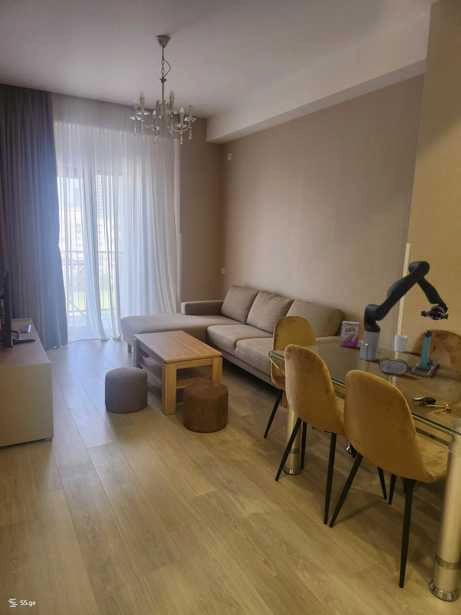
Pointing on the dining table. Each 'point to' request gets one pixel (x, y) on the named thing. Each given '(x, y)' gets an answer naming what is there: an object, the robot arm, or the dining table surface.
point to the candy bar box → (349, 334)
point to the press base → (422, 372)
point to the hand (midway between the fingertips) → (433, 316)
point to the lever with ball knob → (425, 352)
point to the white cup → (400, 343)
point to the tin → (393, 366)
